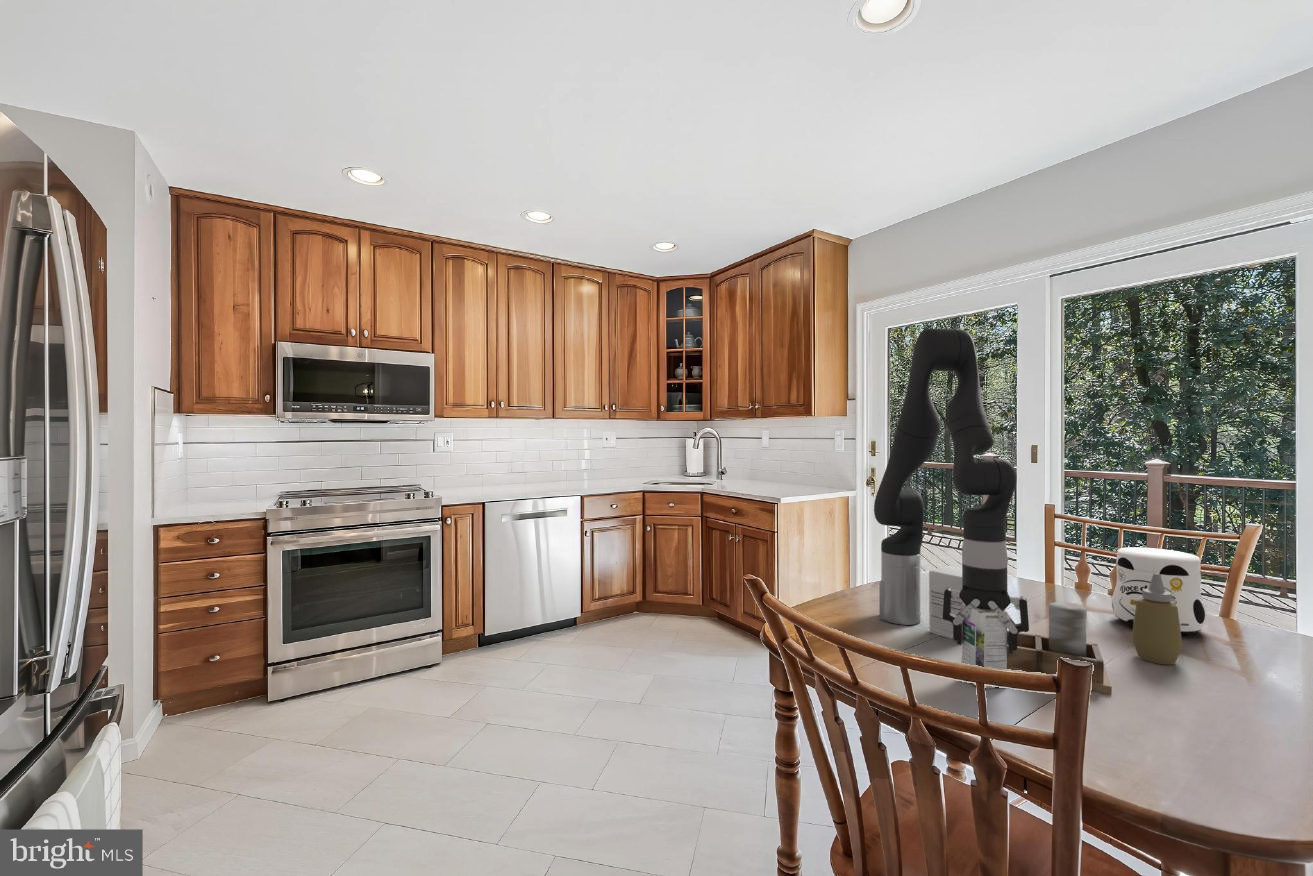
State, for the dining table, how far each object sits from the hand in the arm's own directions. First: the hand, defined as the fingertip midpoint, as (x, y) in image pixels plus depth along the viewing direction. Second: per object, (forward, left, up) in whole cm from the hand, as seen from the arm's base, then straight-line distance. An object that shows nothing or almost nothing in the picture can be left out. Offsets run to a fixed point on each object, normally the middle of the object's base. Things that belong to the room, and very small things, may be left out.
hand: (984, 647), depth 111 cm
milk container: (+34, +57, -7) cm, 67 cm away
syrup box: (0, 0, -7) cm, 7 cm away
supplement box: (-7, +27, -7) cm, 29 cm away
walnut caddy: (+9, +12, -7) cm, 16 cm away
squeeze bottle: (+30, +31, -7) cm, 44 cm away
